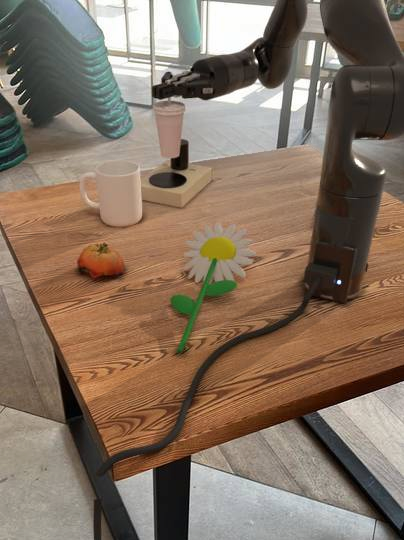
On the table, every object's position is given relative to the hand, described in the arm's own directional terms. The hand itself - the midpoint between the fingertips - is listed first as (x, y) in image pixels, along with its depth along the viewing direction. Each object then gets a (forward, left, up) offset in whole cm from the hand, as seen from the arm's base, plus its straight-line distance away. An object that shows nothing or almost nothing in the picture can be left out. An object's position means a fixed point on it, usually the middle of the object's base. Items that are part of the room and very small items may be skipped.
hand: (155, 93), depth 108 cm
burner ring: (+3, -1, -18) cm, 18 cm away
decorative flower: (-31, -24, -21) cm, 45 cm away
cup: (-12, +4, -21) cm, 25 cm away
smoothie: (+3, -1, -13) cm, 13 cm away
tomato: (-31, -5, -21) cm, 38 cm away
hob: (+6, -1, -21) cm, 22 cm away
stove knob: (+11, 0, -18) cm, 21 cm away
